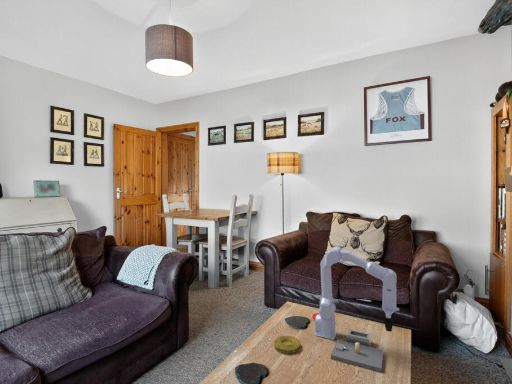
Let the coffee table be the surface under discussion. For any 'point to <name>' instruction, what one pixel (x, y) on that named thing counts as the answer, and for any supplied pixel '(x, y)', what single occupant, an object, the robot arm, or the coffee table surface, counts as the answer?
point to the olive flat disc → (287, 344)
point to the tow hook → (317, 313)
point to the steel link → (359, 337)
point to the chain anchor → (341, 347)
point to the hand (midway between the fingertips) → (389, 327)
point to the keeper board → (359, 355)
